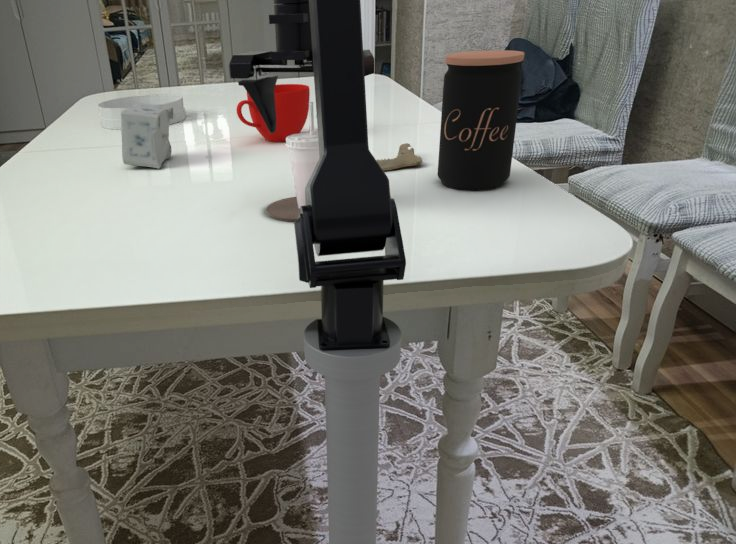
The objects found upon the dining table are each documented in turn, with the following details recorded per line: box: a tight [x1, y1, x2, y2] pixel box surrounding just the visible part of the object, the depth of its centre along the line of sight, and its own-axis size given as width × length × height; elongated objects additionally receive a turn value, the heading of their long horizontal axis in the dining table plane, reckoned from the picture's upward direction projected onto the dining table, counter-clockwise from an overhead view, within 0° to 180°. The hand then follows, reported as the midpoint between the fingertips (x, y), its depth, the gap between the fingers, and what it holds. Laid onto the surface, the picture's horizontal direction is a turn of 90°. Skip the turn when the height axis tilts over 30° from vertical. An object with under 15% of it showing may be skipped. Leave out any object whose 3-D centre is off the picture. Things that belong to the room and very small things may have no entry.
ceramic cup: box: [236, 83, 311, 143], centre depth 132 cm, size 13×17×10 cm
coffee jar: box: [437, 49, 525, 191], centre depth 94 cm, size 11×11×18 cm
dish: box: [97, 93, 187, 131], centre depth 165 cm, size 22×22×5 cm
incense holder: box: [120, 103, 173, 170], centre depth 120 cm, size 10×8×10 cm
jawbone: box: [376, 143, 423, 172], centre depth 109 cm, size 9×20×2 cm, turn 115°
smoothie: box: [285, 101, 319, 208], centre depth 88 cm, size 6×6×14 cm
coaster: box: [266, 196, 300, 223], centre depth 91 cm, size 11×11×1 cm
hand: (302, 134), depth 86 cm, fingers open, 9 cm apart
